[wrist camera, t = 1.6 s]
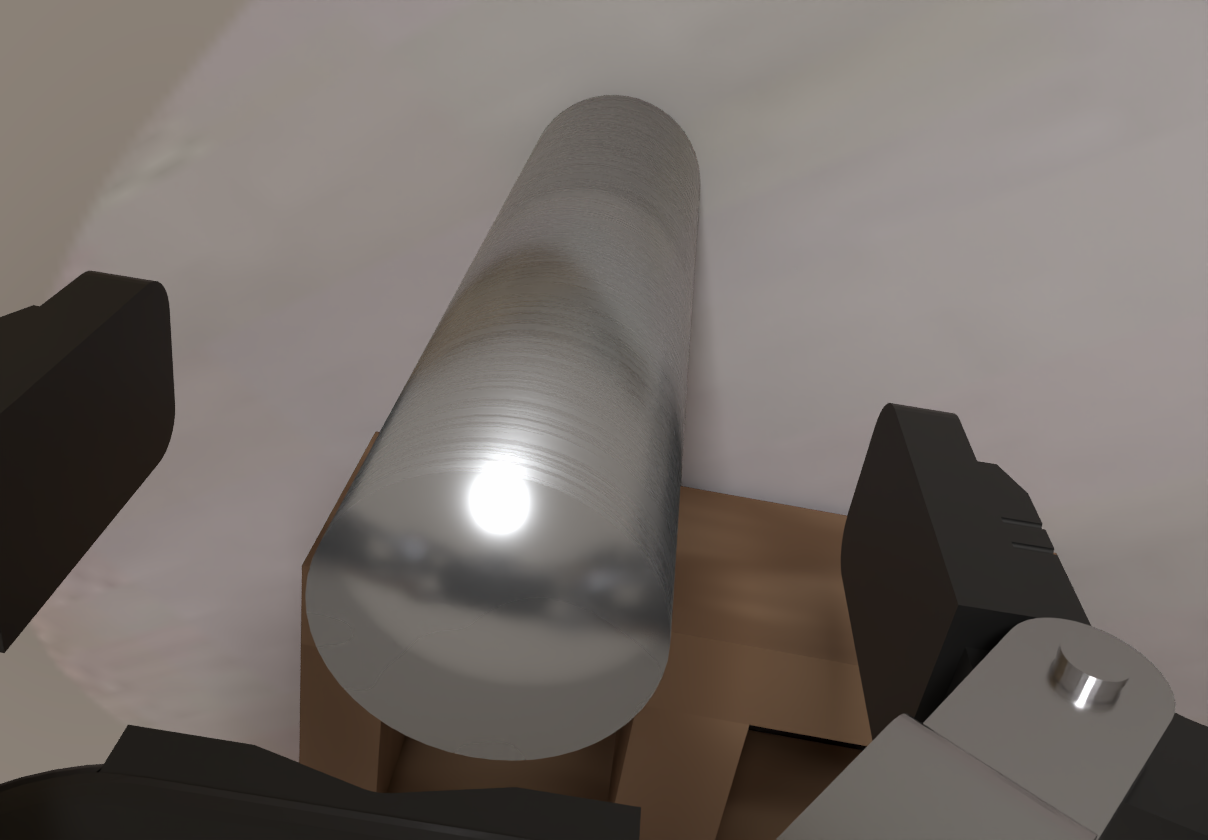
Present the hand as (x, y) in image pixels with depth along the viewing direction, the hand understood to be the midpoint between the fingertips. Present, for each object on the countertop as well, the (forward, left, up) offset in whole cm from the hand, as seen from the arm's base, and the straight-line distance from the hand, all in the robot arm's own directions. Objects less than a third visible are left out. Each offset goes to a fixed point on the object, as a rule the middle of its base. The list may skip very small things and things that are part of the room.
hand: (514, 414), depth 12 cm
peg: (0, 0, -8) cm, 8 cm away
